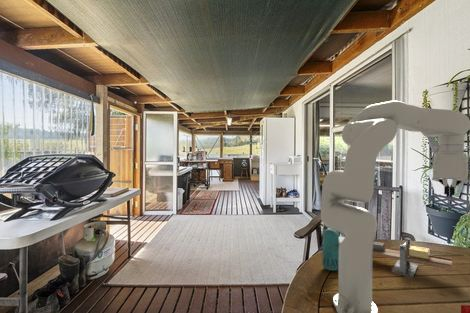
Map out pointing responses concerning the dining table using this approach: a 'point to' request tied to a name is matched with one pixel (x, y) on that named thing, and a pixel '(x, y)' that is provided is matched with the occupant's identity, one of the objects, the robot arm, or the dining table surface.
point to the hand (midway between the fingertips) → (449, 196)
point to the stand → (404, 262)
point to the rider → (419, 252)
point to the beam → (433, 261)
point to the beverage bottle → (330, 249)
